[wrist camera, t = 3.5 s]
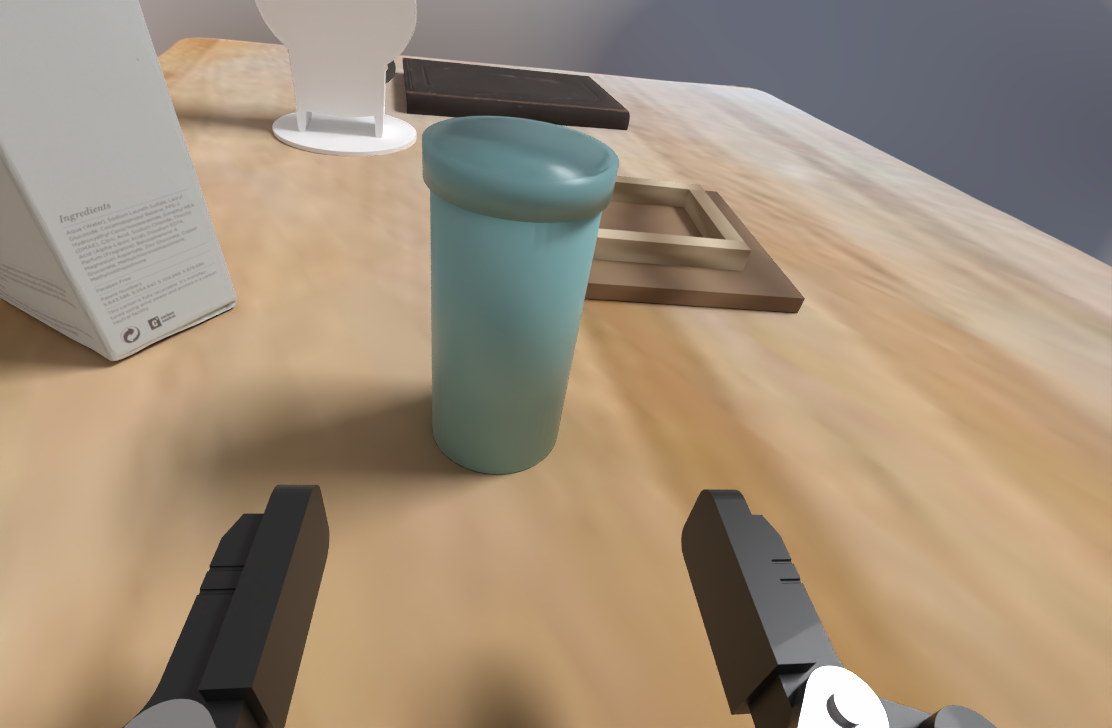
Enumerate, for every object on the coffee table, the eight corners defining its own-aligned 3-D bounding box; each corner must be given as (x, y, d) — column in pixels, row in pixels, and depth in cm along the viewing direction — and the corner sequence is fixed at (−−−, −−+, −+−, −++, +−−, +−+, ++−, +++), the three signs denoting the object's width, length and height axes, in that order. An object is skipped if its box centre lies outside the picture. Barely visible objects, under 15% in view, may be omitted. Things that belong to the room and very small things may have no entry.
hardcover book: (403, 79, 64) (402, 57, 63) (586, 95, 71) (589, 76, 69) (407, 119, 53) (406, 94, 51) (626, 135, 59) (631, 113, 57)
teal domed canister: (555, 383, 24) (602, 128, 17) (569, 479, 20) (637, 193, 13) (432, 378, 23) (431, 107, 17) (420, 477, 19) (410, 171, 12)
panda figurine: (423, 119, 52) (419, -83, 42) (425, 161, 43) (422, -79, 34) (286, 107, 49) (250, -112, 39) (260, 150, 40) (206, -116, 31)
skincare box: (242, 307, 25) (130, -109, 16) (105, 373, 21) (-155, -144, 12) (125, 249, 28) (-29, -142, 19) (-19, 298, 23) (-316, -182, 14)
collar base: (713, 203, 45) (722, 174, 43) (797, 312, 32) (815, 277, 31) (519, 184, 42) (522, 153, 40) (531, 294, 30) (536, 255, 28)
